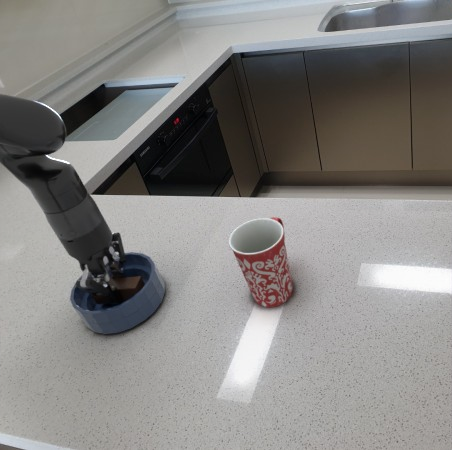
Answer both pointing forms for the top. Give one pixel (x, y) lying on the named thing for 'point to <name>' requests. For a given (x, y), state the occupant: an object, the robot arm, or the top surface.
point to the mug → (263, 260)
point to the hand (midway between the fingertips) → (121, 295)
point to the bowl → (127, 311)
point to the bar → (123, 288)
